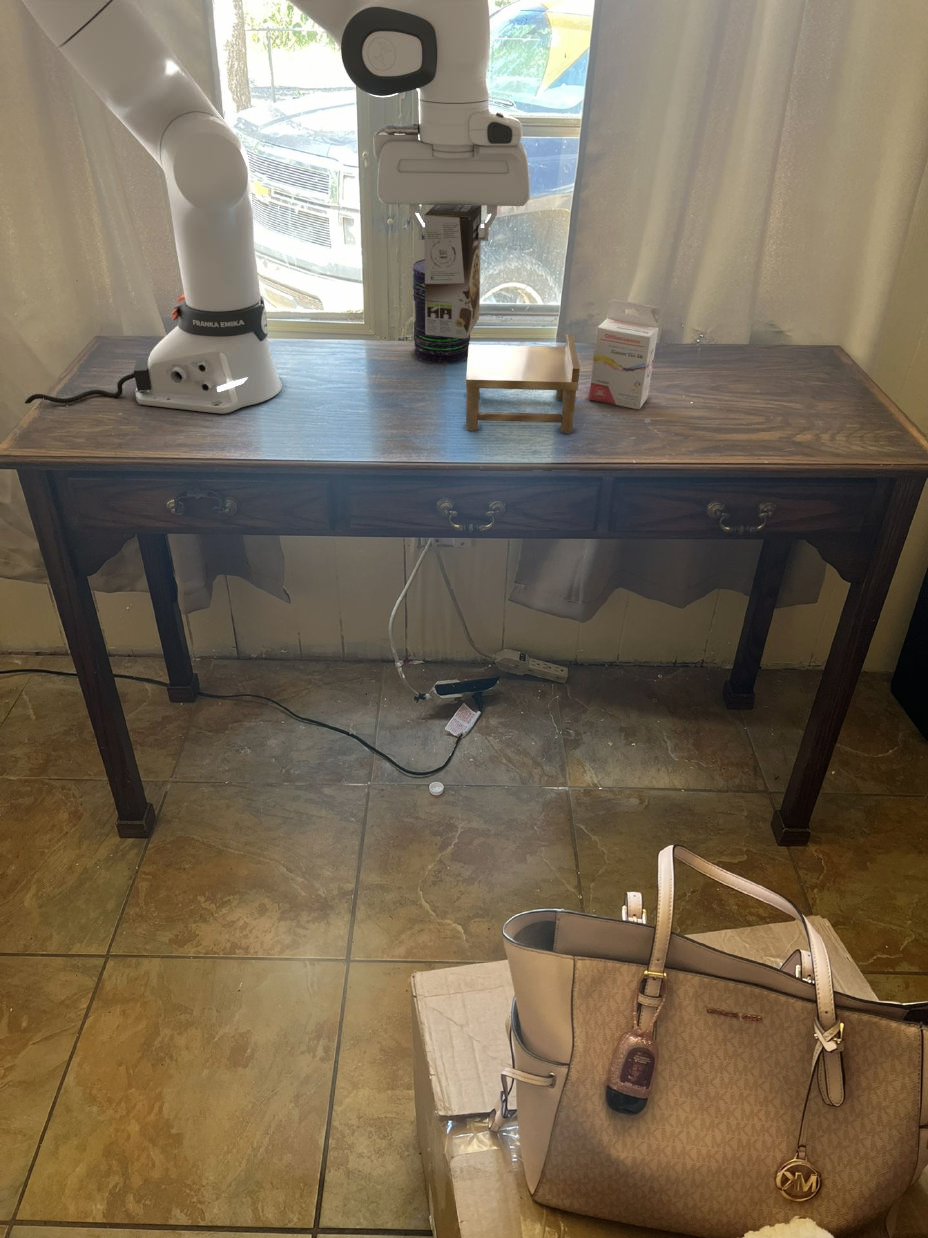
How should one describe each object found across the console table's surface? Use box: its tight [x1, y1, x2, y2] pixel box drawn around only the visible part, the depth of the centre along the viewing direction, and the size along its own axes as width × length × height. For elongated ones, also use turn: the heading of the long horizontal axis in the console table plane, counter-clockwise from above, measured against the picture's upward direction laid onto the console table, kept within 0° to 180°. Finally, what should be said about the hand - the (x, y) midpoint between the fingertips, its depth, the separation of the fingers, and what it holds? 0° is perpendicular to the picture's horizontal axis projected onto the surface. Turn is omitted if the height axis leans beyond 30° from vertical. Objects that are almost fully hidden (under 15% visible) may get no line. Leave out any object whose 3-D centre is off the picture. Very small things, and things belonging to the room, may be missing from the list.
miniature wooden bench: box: [465, 333, 581, 434], centre depth 133 cm, size 16×14×10 cm
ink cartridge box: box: [588, 298, 661, 410], centre depth 137 cm, size 9×5×15 cm, turn 65°
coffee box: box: [423, 205, 483, 339], centre depth 124 cm, size 9×6×16 cm
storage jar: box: [412, 258, 471, 365], centre depth 151 cm, size 10×10×15 cm
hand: (453, 239), depth 121 cm, fingers closed on coffee box, 7 cm apart
